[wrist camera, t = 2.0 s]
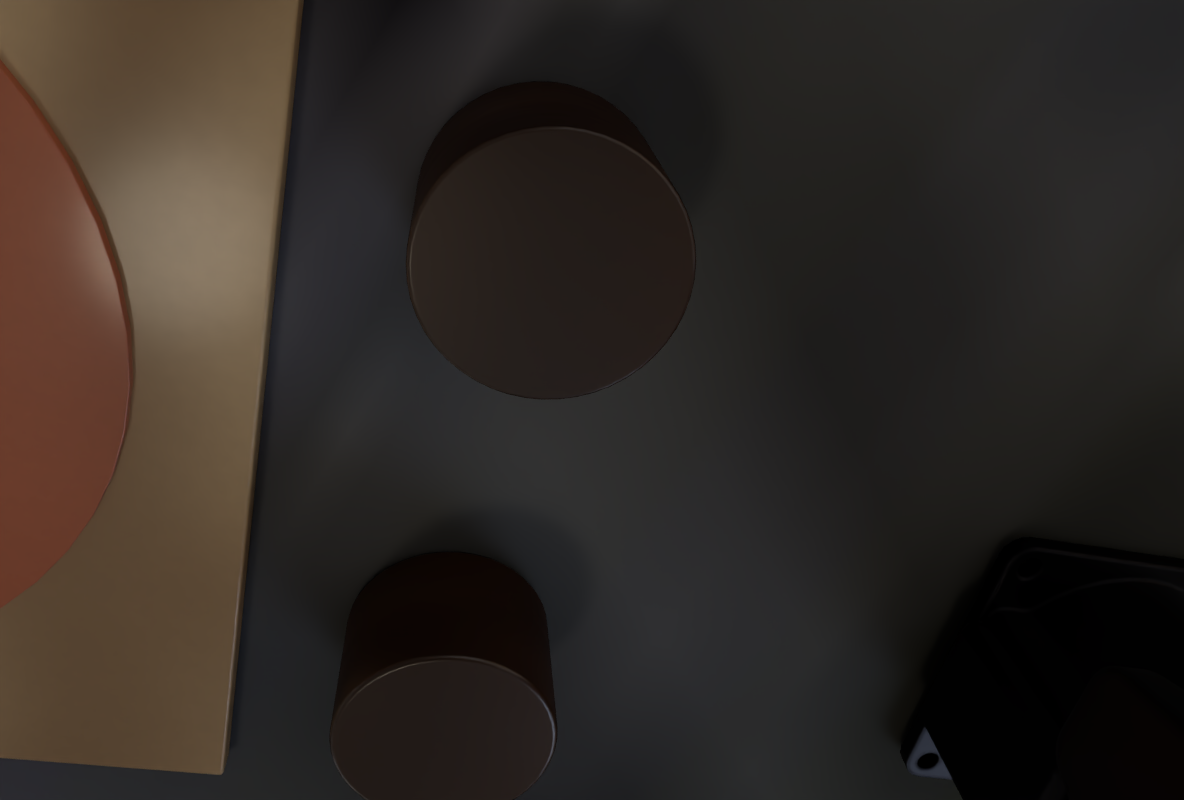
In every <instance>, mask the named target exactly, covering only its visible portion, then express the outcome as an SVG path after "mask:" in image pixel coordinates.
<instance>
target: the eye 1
mask: <svg viewBox="0 0 1184 800" xmlns="http://www.w3.org/2000/svg"><path fill="white" fill-rule="evenodd" d="M329 741H330V749H331V754H332V757H333V760H334V763H335V765H336V767H337V769H338V771H339V773H340V775H341V776H342V777H343V779H344V780H345V781H346V783H347V784H348V785H349V786H350V787H351V788H352V789H353V790H354V791H355V792H356V793H358V794H359V795H360V796H362V797H363V798H364V799H366V800H514V799H515V798H517V797H519V796H520V795H521V794H523V793H524V792H525V791H527V790H528V789H529V788H530V787H531V786H532V785H533V784H534V783H535V782H536V781H537V780H538V779H539V778H540V776H541V775H542V774H543V773H544V771H545V770H546V768H547V766H548V764H549V763H550V761H551V758H552V756H553V753H554V751H555V747H556V742H557V718H556V708H555V698H554V688H553V678H552V668H551V658H550V648H549V638H548V628H547V620H546V614H545V611H544V608H543V604H542V603H541V601H540V599H539V597H538V595H537V594H536V592H535V591H534V589H533V588H532V587H531V586H530V585H529V584H528V583H527V581H526V580H525V579H524V578H523V577H521V576H520V575H519V574H518V573H516V572H515V571H514V570H512V569H510V568H509V567H507V566H505V565H504V564H502V563H499V562H497V561H495V560H492V559H490V558H486V557H483V556H480V555H475V554H469V553H461V552H437V553H430V554H424V555H420V556H416V557H412V558H409V559H407V560H404V561H401V562H399V563H397V564H395V565H393V566H391V567H389V568H387V569H386V570H384V571H383V572H381V573H380V574H378V575H377V576H376V577H375V578H374V579H373V580H372V581H370V582H369V583H368V584H367V586H366V587H365V588H364V589H363V590H362V591H361V593H360V594H359V596H358V597H357V599H356V600H355V602H354V604H353V606H352V609H351V611H350V614H349V618H348V622H347V628H346V635H345V641H344V647H343V653H342V659H341V666H340V672H339V678H338V684H337V690H336V696H335V703H334V709H333V715H332V721H331V727H330V739H329Z"/></svg>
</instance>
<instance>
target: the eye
mask: <svg viewBox="0 0 1184 800" xmlns="http://www.w3.org/2000/svg"><path fill="white" fill-rule="evenodd" d="M695 269H696V249H695V240H694V235H693V229H692V225H691V222H690V219H689V216H688V213H687V210H686V208H685V206H684V204H683V202H682V200H681V198H680V196H679V194H678V192H677V191H676V189H675V187H674V186H673V184H672V182H671V181H670V179H669V178H668V176H667V174H666V173H665V171H664V169H663V168H662V166H661V165H660V163H659V161H658V160H657V158H656V156H655V155H654V153H653V152H652V150H651V148H650V147H649V145H648V143H647V142H646V140H645V139H644V137H643V136H642V134H641V133H640V132H639V130H638V129H637V127H636V126H635V125H634V124H633V123H632V122H631V121H630V120H629V118H628V117H627V116H626V115H625V114H623V113H622V112H621V111H620V110H619V109H617V108H616V107H615V106H614V105H613V104H611V103H609V102H608V101H606V100H605V99H603V98H601V97H600V96H598V95H596V94H593V93H591V92H589V91H587V90H585V89H582V88H578V87H575V86H571V85H568V84H562V83H556V82H536V81H533V82H525V83H517V84H513V85H509V86H505V87H501V88H498V89H496V90H493V91H491V92H489V93H486V94H484V95H482V96H480V97H479V98H477V99H475V100H473V101H472V102H470V103H469V104H467V105H466V106H465V107H463V108H462V109H461V110H460V111H458V112H457V113H456V114H455V115H454V116H453V117H452V118H451V119H450V120H449V121H448V122H447V123H446V124H445V125H444V127H443V128H442V129H441V131H440V132H439V133H438V135H437V136H436V137H435V139H434V141H433V142H432V144H431V146H430V148H429V150H428V152H427V154H426V156H425V159H424V162H423V164H422V167H421V170H420V175H419V179H418V183H417V189H416V196H415V202H414V208H413V214H412V220H411V226H410V232H409V238H408V244H407V255H406V275H407V284H408V289H409V294H410V299H411V302H412V305H413V308H414V311H415V314H416V316H417V318H418V320H419V322H420V324H421V326H422V328H423V330H424V332H425V333H426V335H427V336H428V337H429V339H430V340H431V342H432V343H433V345H434V346H435V347H436V348H437V349H438V350H439V352H440V353H441V354H442V355H443V356H444V357H445V358H446V359H447V360H448V361H449V362H450V363H452V364H453V365H454V366H455V367H456V368H457V369H459V370H460V371H461V372H463V373H464V374H466V375H467V376H469V377H471V378H472V379H474V380H475V381H477V382H479V383H481V384H483V385H485V386H487V387H489V388H492V389H495V390H498V391H500V392H503V393H506V394H510V395H515V396H519V397H524V398H533V399H564V398H572V397H578V396H582V395H586V394H590V393H594V392H597V391H599V390H602V389H605V388H607V387H610V386H612V385H614V384H616V383H618V382H620V381H622V380H624V379H626V378H627V377H629V376H630V375H632V374H633V373H635V372H636V371H637V370H639V369H640V368H642V367H643V366H644V365H645V364H646V363H647V362H649V361H650V360H651V359H652V358H653V357H654V356H655V355H656V354H657V353H658V352H659V351H660V350H661V348H662V347H663V346H664V345H665V344H666V343H667V341H668V340H669V338H670V337H671V336H672V334H673V333H674V331H675V330H676V328H677V326H678V325H679V323H680V321H681V319H682V317H683V315H684V313H685V310H686V308H687V305H688V302H689V300H690V297H691V293H692V288H693V284H694V280H695Z"/></svg>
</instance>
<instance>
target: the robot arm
mask: <svg viewBox="0 0 1184 800" xmlns="http://www.w3.org/2000/svg"><path fill="white" fill-rule="evenodd" d="M1028 559H1031V560H1030V561H1029V562H1028V563H1027V564H1025V565H1023V566H1020V565H1021V564H1022V563H1023V562H1024V561H1026V560H1028ZM900 753H901V756H902V759H903V761H904V763H905V765H906V767H907V769H908V771H909V772H910V773H912V774H913V775H916V776H920V777H930V778H941V779H953V781H954V783H955V785H956V787H957V789H958V791H959V793H960V795H961V797H962V798H963V800H1184V559H1177V558H1171V557H1164V556H1157V555H1150V554H1143V553H1136V552H1129V551H1122V550H1115V549H1109V548H1102V547H1095V546H1088V545H1081V544H1074V543H1067V542H1060V541H1053V540H1047V539H1040V538H1033V537H1022V538H1019V539H1016V540H1013V541H1011V542H1010V543H1009V544H1007V545H1006V546H1004V548H1003V549H1002V550H1001V552H1000V553H999V555H998V557H997V559H996V561H995V563H994V565H993V567H992V569H991V571H990V573H989V575H988V576H987V578H986V580H985V582H984V584H983V586H982V588H981V590H980V592H979V594H978V596H977V598H976V600H975V602H974V604H973V606H972V608H971V610H970V612H969V614H968V616H967V618H966V620H965V622H964V624H963V626H962V628H961V630H960V632H959V634H958V636H957V638H956V639H955V641H954V643H953V645H952V647H951V649H950V651H949V653H948V655H947V657H946V659H945V661H944V663H943V665H942V667H941V669H940V671H939V673H938V675H937V677H936V679H935V681H934V683H933V685H932V687H931V689H930V691H929V693H928V695H927V697H926V699H925V701H924V702H923V704H922V706H921V708H920V710H919V712H918V714H917V716H916V718H915V720H914V722H913V724H912V726H911V728H910V730H909V732H908V734H907V736H906V738H905V740H904V742H903V744H902V746H901V750H900Z"/></svg>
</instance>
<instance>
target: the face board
mask: <svg viewBox="0 0 1184 800" xmlns="http://www.w3.org/2000/svg"><path fill="white" fill-rule="evenodd" d="M303 2H304V0H0V758H9V759H22V760H35V761H48V762H61V763H74V764H86V765H99V766H112V767H125V768H138V769H151V770H164V771H176V772H189V773H202V774H215V775H221V774H222V773H223V772H224V769H225V766H226V762H227V758H228V754H229V745H230V735H231V725H232V714H233V704H234V694H235V684H236V674H237V664H238V654H239V644H240V634H241V624H242V614H243V604H244V594H245V584H246V574H247V564H248V554H249V544H250V534H251V524H252V514H253V504H254V494H255V484H256V474H257V464H258V454H259V444H260V434H261V424H262V413H263V403H264V393H265V383H266V373H267V363H268V353H269V343H270V333H271V323H272V313H273V303H274V293H275V283H276V273H277V263H278V253H279V243H280V233H281V223H282V213H283V203H284V193H285V183H286V173H287V163H288V153H289V143H290V133H291V123H292V112H293V102H294V92H295V82H296V72H297V62H298V52H299V42H300V32H301V22H302V12H303Z"/></svg>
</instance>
